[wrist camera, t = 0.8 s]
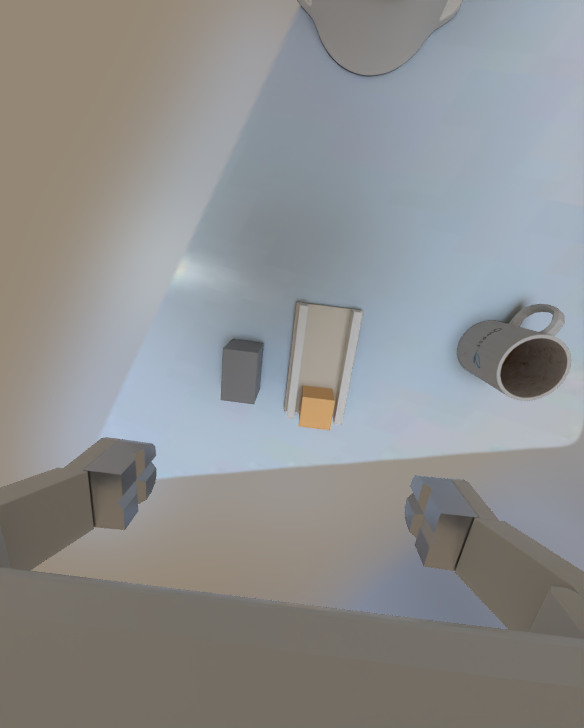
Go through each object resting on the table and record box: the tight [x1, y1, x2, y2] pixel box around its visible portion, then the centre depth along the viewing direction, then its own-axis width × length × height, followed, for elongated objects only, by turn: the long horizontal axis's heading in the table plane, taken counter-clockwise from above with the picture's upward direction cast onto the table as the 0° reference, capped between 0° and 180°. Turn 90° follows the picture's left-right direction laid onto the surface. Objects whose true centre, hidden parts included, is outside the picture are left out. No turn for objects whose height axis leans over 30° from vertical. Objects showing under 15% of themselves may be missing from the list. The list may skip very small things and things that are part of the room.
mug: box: [457, 304, 571, 401], centre depth 40 cm, size 12×9×10 cm
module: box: [221, 339, 264, 404], centre depth 45 cm, size 8×5×6 cm, turn 174°
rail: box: [284, 302, 363, 430], centre depth 45 cm, size 18×10×6 cm, turn 174°
